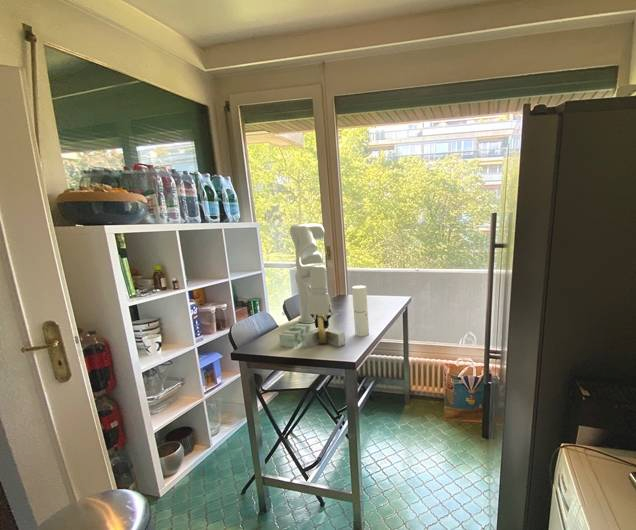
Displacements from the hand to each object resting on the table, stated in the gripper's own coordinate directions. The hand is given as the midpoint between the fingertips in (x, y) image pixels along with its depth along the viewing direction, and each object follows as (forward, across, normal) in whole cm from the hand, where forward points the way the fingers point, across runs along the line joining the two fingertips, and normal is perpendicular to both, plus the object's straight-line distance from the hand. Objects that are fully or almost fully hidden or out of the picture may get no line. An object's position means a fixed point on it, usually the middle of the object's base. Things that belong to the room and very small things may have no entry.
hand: (322, 327), depth 162 cm
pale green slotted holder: (+9, -16, +2) cm, 18 cm away
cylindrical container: (+9, +14, +18) cm, 25 cm away
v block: (+9, 0, +1) cm, 9 cm away
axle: (+7, 0, 0) cm, 7 cm away
